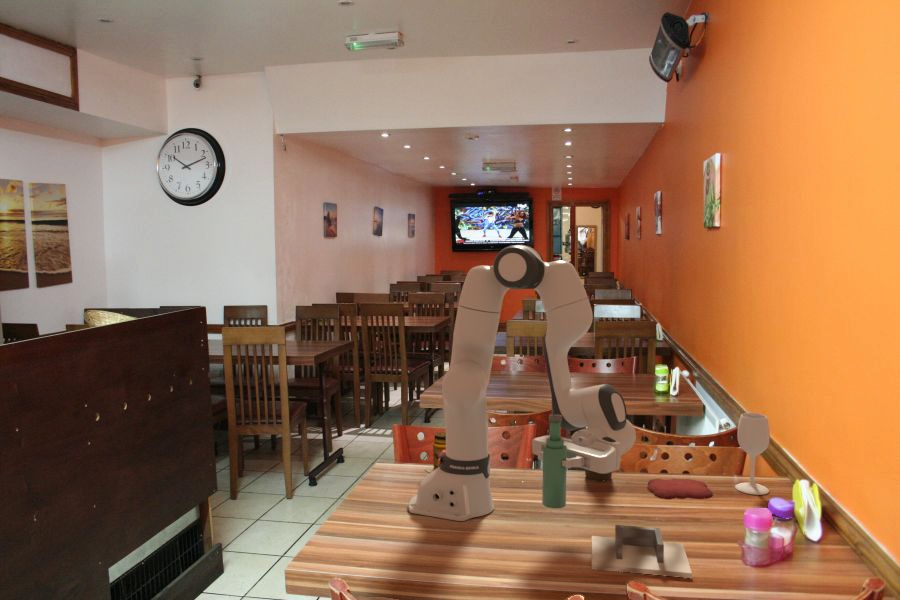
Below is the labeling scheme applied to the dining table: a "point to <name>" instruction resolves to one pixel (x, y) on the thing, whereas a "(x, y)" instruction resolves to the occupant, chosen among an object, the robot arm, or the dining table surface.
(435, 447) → the condiment
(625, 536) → the bottle stand
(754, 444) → the wineglass
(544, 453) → the bottle
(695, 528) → the dining table surface
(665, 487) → the patty
